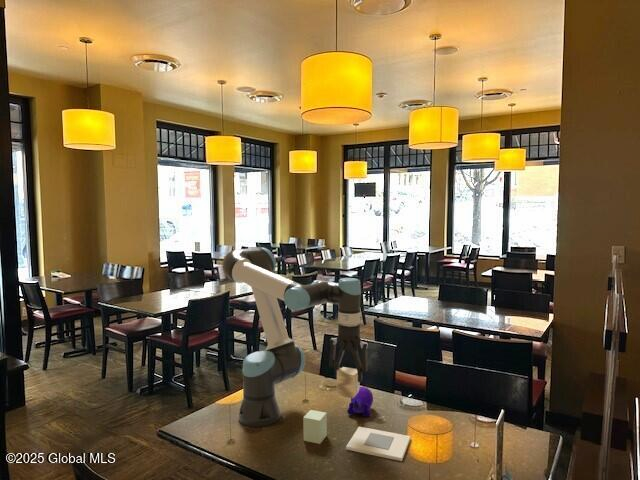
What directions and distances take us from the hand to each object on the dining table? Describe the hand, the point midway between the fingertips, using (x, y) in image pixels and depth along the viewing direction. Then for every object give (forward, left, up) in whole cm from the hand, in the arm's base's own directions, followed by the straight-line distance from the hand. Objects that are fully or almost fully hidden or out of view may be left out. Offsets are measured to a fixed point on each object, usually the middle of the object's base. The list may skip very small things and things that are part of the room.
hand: (348, 388), depth 153 cm
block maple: (0, 0, -2) cm, 2 cm away
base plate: (+12, -5, -15) cm, 20 cm away
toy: (0, +14, -15) cm, 20 cm away
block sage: (-9, -9, -15) cm, 19 cm away
